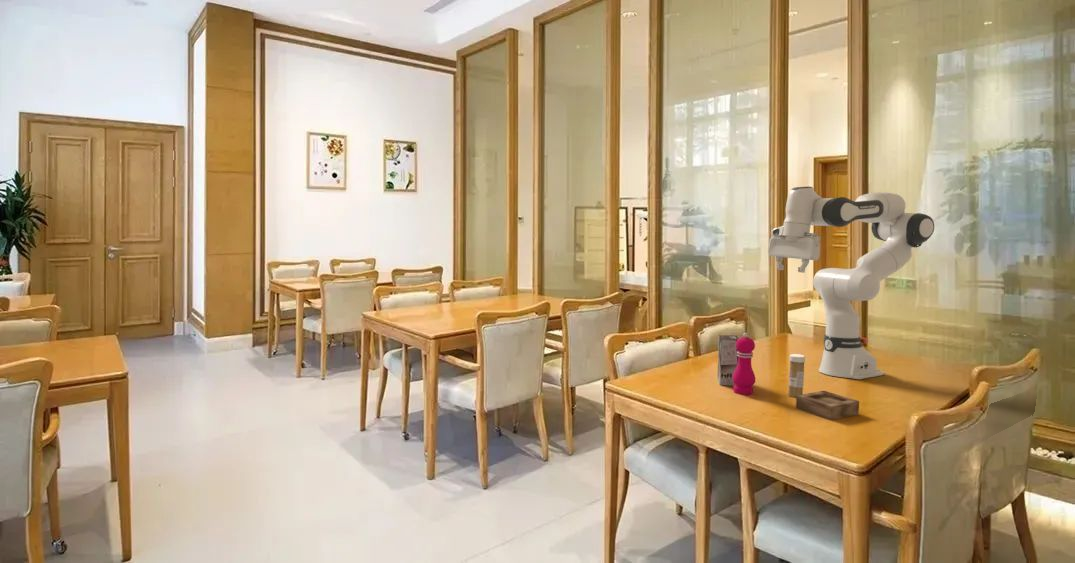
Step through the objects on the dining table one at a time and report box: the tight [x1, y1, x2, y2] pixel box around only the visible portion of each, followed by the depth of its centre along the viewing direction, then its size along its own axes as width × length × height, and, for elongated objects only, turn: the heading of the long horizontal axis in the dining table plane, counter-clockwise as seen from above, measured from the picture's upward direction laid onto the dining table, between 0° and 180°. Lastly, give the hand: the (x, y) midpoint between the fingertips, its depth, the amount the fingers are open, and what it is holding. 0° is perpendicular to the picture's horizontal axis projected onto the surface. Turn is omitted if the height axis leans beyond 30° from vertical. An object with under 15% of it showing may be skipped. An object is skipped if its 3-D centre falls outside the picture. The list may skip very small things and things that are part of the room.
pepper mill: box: [732, 332, 756, 396], centre depth 198 cm, size 7×7×20 cm
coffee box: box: [717, 334, 739, 387], centre depth 210 cm, size 9×6×16 cm
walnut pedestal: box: [795, 390, 860, 421], centre depth 179 cm, size 12×12×4 cm
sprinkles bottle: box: [787, 353, 806, 398], centre depth 194 cm, size 5×5×14 cm
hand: (790, 271), depth 213 cm, fingers open, 8 cm apart
